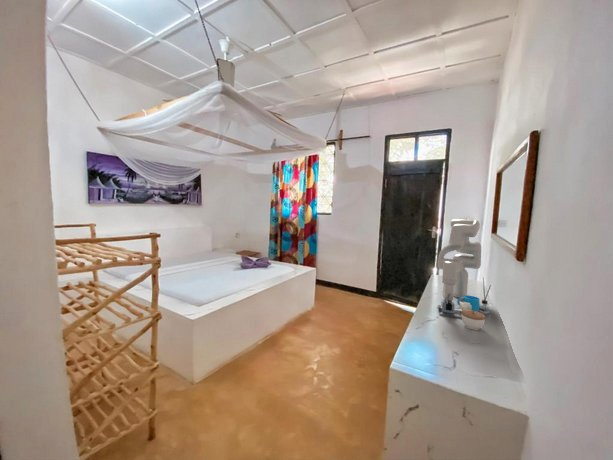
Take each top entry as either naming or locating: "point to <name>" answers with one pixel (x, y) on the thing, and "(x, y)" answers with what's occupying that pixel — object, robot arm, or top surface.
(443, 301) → the block
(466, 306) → the rail plate
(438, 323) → the top surface
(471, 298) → the mug
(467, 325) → the lidded jar
